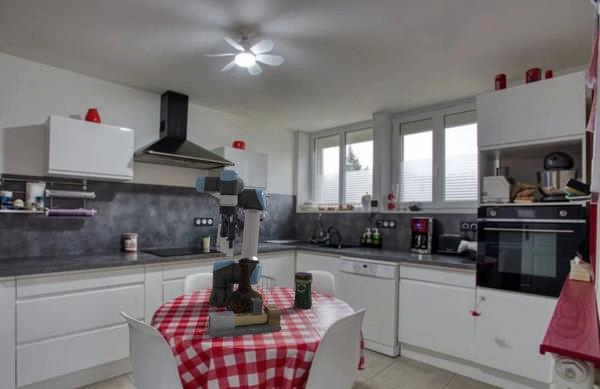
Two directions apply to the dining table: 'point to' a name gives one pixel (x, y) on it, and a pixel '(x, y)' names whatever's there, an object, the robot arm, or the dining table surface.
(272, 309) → the walnut socket
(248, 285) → the glass bottle
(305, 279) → the coffee jar
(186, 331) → the dining table surface
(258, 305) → the tan slab
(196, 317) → the dining table surface
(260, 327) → the base board
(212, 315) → the steel sleeve
